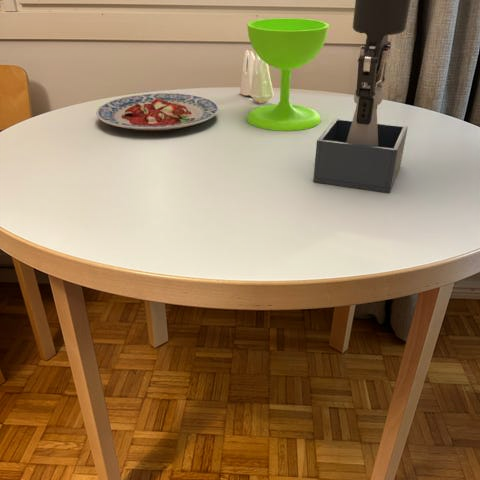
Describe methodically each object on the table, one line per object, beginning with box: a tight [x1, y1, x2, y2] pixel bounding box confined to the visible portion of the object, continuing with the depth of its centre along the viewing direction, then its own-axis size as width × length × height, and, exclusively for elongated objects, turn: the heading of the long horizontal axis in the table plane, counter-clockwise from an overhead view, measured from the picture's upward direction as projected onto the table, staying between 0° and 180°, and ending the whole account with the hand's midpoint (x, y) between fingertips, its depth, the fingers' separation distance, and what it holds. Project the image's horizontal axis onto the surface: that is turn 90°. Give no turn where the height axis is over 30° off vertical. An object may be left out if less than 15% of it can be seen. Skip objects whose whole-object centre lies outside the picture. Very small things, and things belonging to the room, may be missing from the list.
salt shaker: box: [346, 85, 384, 147], centre depth 85 cm, size 6×6×13 cm
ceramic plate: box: [95, 92, 219, 132], centre depth 113 cm, size 26×26×3 cm
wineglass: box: [246, 17, 330, 132], centre depth 109 cm, size 16×16×18 cm
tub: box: [312, 118, 409, 194], centre depth 87 cm, size 12×12×7 cm
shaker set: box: [239, 49, 275, 104], centre depth 123 cm, size 12×4×11 cm, turn 22°
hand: (366, 118), depth 84 cm, fingers closed on salt shaker, 4 cm apart
